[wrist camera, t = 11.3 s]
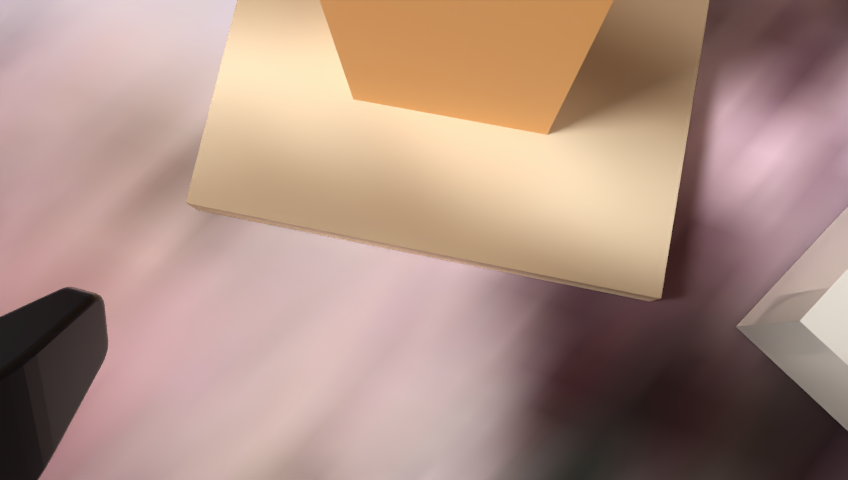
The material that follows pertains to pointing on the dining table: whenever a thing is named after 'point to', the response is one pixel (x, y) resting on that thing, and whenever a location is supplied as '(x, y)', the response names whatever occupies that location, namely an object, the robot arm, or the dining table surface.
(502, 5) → the block
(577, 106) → the wooden board
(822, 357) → the equipment case
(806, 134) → the dining table surface
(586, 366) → the dining table surface
